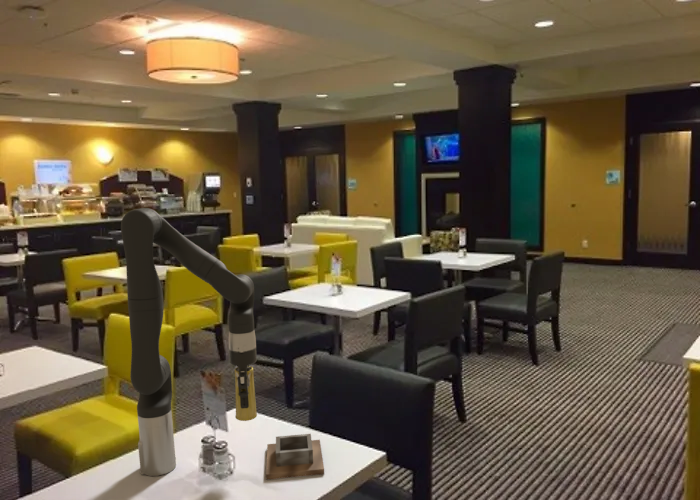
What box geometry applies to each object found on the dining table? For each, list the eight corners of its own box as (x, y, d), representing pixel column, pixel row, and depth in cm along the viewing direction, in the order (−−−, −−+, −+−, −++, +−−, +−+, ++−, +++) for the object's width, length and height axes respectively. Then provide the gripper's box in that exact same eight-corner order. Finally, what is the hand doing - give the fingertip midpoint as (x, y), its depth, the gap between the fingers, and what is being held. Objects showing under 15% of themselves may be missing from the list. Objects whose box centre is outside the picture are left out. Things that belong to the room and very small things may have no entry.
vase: (245, 423, 164) (243, 374, 162) (230, 417, 167) (228, 369, 165) (261, 415, 168) (259, 367, 166) (246, 410, 172) (244, 363, 170)
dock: (266, 479, 162) (265, 460, 161) (267, 448, 179) (266, 431, 179) (324, 474, 163) (323, 455, 163) (319, 444, 181) (319, 427, 180)
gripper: (231, 339, 172) (233, 394, 174) (226, 355, 157) (229, 414, 160) (257, 338, 172) (259, 393, 175) (254, 353, 158) (257, 412, 161)
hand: (245, 403), depth 167 cm, fingers closed on vase, 5 cm apart
